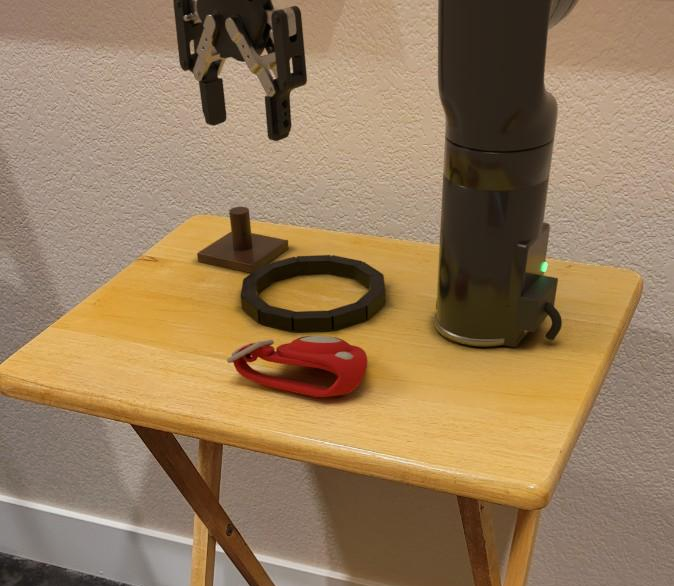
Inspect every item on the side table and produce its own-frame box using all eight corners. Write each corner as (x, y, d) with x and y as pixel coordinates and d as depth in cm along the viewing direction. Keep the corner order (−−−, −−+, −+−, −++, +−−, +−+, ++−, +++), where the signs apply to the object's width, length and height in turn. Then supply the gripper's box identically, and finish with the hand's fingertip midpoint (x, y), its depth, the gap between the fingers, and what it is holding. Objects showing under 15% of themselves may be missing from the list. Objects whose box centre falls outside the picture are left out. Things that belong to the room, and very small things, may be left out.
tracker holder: (333, 327, 85) (394, 344, 77) (332, 374, 87) (390, 394, 79) (218, 333, 79) (272, 351, 71) (219, 383, 81) (271, 406, 73)
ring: (408, 283, 94) (408, 270, 93) (341, 344, 85) (340, 329, 84) (290, 259, 99) (289, 246, 98) (215, 313, 90) (213, 299, 89)
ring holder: (288, 248, 102) (285, 204, 98) (253, 273, 97) (248, 227, 93) (235, 237, 104) (230, 193, 101) (197, 261, 100) (191, 216, 96)
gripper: (320, -84, 71) (328, 134, 82) (201, -93, 78) (224, 109, 89) (254, -72, 67) (272, 155, 78) (135, -82, 74) (168, 128, 85)
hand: (246, 130), depth 84 cm, fingers open, 8 cm apart
